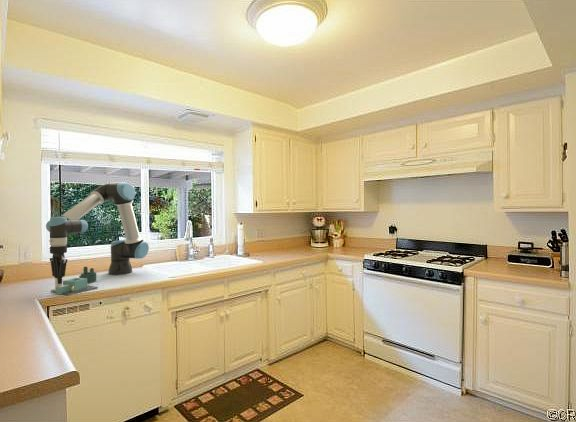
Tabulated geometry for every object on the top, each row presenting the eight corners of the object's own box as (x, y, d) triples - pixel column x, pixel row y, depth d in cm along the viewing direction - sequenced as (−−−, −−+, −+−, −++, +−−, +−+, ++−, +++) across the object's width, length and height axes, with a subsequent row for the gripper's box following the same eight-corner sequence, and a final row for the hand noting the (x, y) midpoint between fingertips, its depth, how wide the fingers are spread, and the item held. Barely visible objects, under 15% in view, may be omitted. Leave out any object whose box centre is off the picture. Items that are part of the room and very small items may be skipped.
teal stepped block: (76, 286, 183) (75, 277, 183) (87, 287, 181) (87, 278, 181) (52, 292, 170) (52, 283, 170) (64, 293, 168) (64, 284, 168)
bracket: (85, 280, 204) (84, 266, 204) (99, 280, 205) (99, 266, 205) (76, 283, 195) (76, 269, 195) (91, 283, 196) (91, 268, 196)
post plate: (81, 285, 190) (81, 277, 190) (97, 288, 182) (97, 279, 182) (50, 291, 175) (50, 282, 175) (67, 295, 168) (67, 285, 168)
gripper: (44, 245, 171) (44, 289, 171) (57, 246, 165) (57, 292, 165) (59, 244, 178) (59, 286, 178) (72, 245, 172) (72, 289, 172)
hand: (58, 289), depth 171 cm, fingers closed
